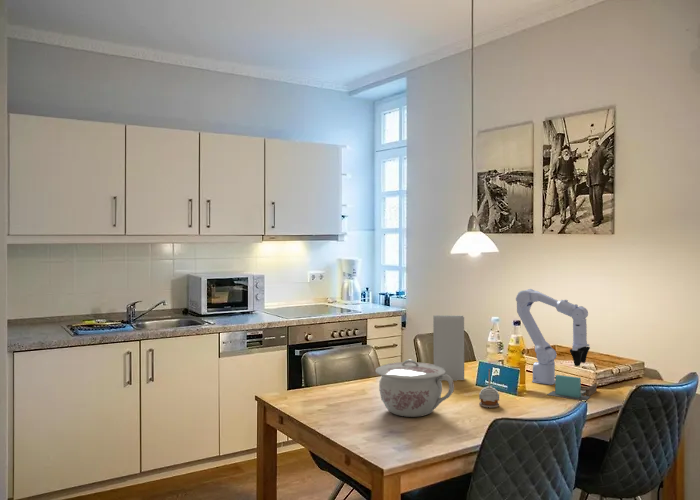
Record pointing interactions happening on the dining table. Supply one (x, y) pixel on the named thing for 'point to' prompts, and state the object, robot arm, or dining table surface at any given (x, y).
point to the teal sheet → (568, 386)
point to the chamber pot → (412, 387)
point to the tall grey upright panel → (449, 345)
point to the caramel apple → (489, 396)
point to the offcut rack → (589, 389)
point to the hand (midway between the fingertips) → (579, 364)
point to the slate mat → (569, 396)
